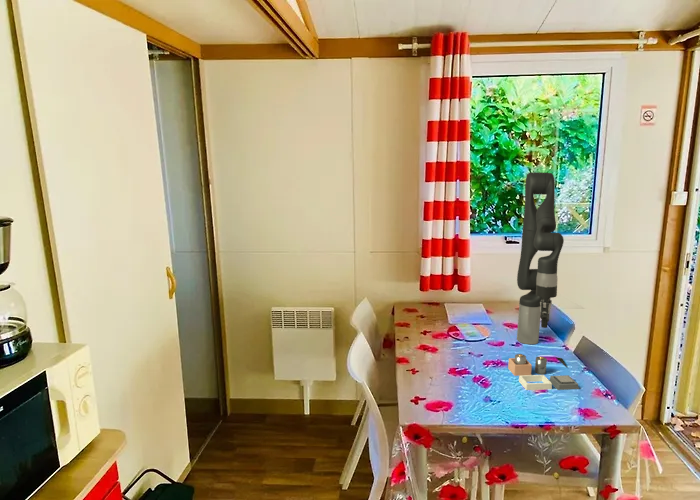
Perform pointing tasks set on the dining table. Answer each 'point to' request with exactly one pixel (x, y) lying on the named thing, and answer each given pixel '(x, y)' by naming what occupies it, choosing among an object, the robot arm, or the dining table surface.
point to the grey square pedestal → (563, 386)
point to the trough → (535, 386)
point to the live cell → (540, 365)
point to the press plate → (564, 379)
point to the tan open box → (519, 368)
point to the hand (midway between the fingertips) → (545, 324)
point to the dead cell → (520, 359)
